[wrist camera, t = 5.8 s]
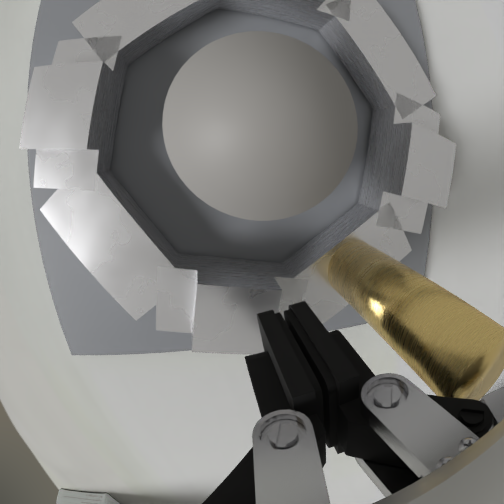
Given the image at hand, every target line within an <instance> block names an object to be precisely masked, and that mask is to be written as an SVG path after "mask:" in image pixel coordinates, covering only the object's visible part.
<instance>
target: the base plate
mask: <svg viewBox="0 0 504 504" xmlns="http://www.w3.org/2000/svg"><path fill="white" fill-rule="evenodd" d="M99 1H100V0H41V3H40V8H39V12H38V17H37V22H36V27H35V33H34V39H33V45H32V52H31V61H30V70H29V82H28V91H29V87H30V82H31V78H32V74H33V70H34V67H38V66H46V65H52V62H53V58H54V55H55V51H56V48H57V45H58V42H59V41H62V40H70V39H80V38H84V37H83V36H82V35H81V33H80V32H79V31H78V30H77V28H76V27H75V26H74V24H73V23H72V22H73V21H74V20H75V19H76V18H78V17H79V16H80V15H82V14H83V13H84V12H85V11H87V10H88V9H89V8H91V7H92V6H94V5H95V4H96V3H98V2H99ZM377 2H378V3H379V4H380V5H381V7H382V8H383V9H384V11H385V12H386V13H387V15H388V16H389V18H390V19H391V20H392V22H393V23H394V25H395V26H396V27H397V29H398V30H399V32H400V33H401V35H402V36H403V38H404V39H405V41H406V43H407V44H408V46H409V47H410V49H411V51H412V52H413V54H414V55H415V57H416V59H417V61H418V62H419V64H420V66H421V67H422V69H423V71H424V73H425V75H426V76H427V78H428V80H429V82H430V79H429V71H428V63H427V57H426V50H425V44H424V39H423V34H422V29H421V24H420V19H419V15H418V10H417V6H416V2H415V0H377ZM424 106H426V107H428V108H430V109H432V99H431V100H430V101H428V102H427V103H425V104H424ZM372 114H373V110H372V108H371V106H370V105H369V103H368V101H367V100H366V98H365V96H364V95H363V93H362V92H361V90H360V88H359V87H358V85H357V84H356V82H355V81H354V79H353V78H352V76H351V75H350V73H349V72H348V70H347V69H346V67H345V66H344V64H343V63H342V62H341V60H340V59H339V57H338V56H337V55H336V53H335V52H334V50H333V49H332V48H331V46H330V45H329V44H328V42H327V41H326V40H325V38H324V37H323V36H322V34H321V33H320V32H319V31H318V30H315V29H311V28H308V27H305V26H301V25H298V24H294V23H290V22H286V21H282V20H278V19H274V18H269V17H265V16H260V15H255V14H250V13H245V12H239V11H233V10H226V9H219V8H218V9H216V10H214V11H212V12H211V13H209V14H207V15H205V16H203V17H201V18H199V19H198V20H196V21H194V22H192V23H191V24H189V25H187V26H186V27H184V28H182V29H181V30H179V31H177V32H176V33H174V34H172V35H171V36H169V37H168V38H166V39H165V40H163V41H162V42H160V43H159V44H157V45H156V46H154V47H153V48H151V49H150V50H148V51H147V52H146V53H144V54H143V55H141V56H140V57H139V58H137V59H136V60H134V61H133V62H132V63H130V64H129V65H128V68H127V73H126V77H125V82H124V86H123V91H122V96H121V101H120V107H119V112H118V118H117V124H116V131H115V137H114V145H113V152H112V161H111V170H110V171H111V172H112V173H113V174H114V176H115V177H116V178H117V180H118V181H119V182H120V183H121V185H122V186H123V187H124V188H125V190H126V191H127V192H128V193H129V195H130V196H131V197H132V198H133V200H134V201H135V202H136V203H137V205H138V206H139V207H140V208H141V210H142V211H143V212H144V213H145V214H146V216H147V217H148V218H149V219H150V221H151V222H152V223H153V224H154V225H155V227H156V228H157V229H158V230H159V231H160V233H161V234H162V235H163V236H164V237H165V238H166V240H167V241H168V242H169V243H170V244H171V246H172V247H173V248H174V249H175V250H176V251H177V253H181V254H192V255H202V256H212V257H223V258H233V259H244V260H255V261H266V262H276V263H282V262H283V261H284V260H286V259H287V258H288V257H290V256H291V255H292V254H294V253H295V252H296V251H298V250H299V249H300V248H301V247H303V246H304V245H305V244H307V243H308V242H309V241H311V240H312V239H313V238H314V237H316V236H317V235H318V234H320V233H321V232H322V231H323V230H325V229H326V228H327V227H329V226H330V225H331V224H332V223H334V222H335V221H336V220H338V219H339V218H340V217H341V216H343V215H344V214H345V213H347V212H348V211H349V210H350V209H352V208H353V207H354V206H355V205H357V204H358V202H359V196H360V191H361V186H362V180H363V175H364V169H365V163H366V157H367V150H368V144H369V137H370V129H371V122H372ZM35 158H36V149H28V166H29V178H30V188H31V197H32V204H33V211H34V218H35V224H36V230H37V235H38V241H39V246H40V250H41V255H42V260H43V264H44V268H45V272H46V276H47V280H48V284H49V288H50V291H51V295H52V298H53V302H54V305H55V308H56V311H57V315H58V318H59V321H60V324H61V327H62V330H63V332H64V335H65V338H66V341H67V343H68V346H69V349H70V351H71V354H72V355H120V354H144V353H161V352H175V351H188V350H192V333H181V332H170V331H159V330H156V305H155V306H154V307H153V308H152V309H150V310H149V311H148V312H147V313H145V314H144V315H143V316H141V317H140V318H139V319H138V320H135V319H134V318H133V317H132V316H131V315H130V314H129V313H128V312H127V311H126V310H125V309H124V308H123V307H122V306H121V305H120V304H119V303H118V302H117V301H116V300H115V299H114V298H113V297H112V296H111V295H110V294H109V293H108V292H107V290H106V289H105V288H104V287H103V286H102V285H101V284H100V283H99V282H98V281H97V279H96V278H95V277H94V276H93V275H92V274H91V273H90V272H89V270H88V269H87V268H86V267H85V266H84V265H83V264H82V262H81V261H80V260H79V259H78V258H77V256H76V255H75V254H74V253H73V252H72V250H71V249H70V248H69V247H68V246H67V244H66V243H65V242H64V241H63V239H62V238H61V237H60V236H59V234H58V233H57V232H56V230H55V229H54V228H53V227H52V225H51V224H50V223H49V221H48V220H47V219H46V217H45V216H44V215H43V213H42V212H41V211H40V209H41V208H42V206H43V205H44V204H45V203H46V202H47V201H48V199H49V198H50V197H51V196H52V195H53V194H54V193H55V191H56V190H57V189H52V188H33V187H34V170H35ZM431 216H432V204H428V205H427V210H426V215H425V219H424V224H423V228H422V232H421V234H418V233H413V232H408V231H404V233H405V235H406V238H407V240H408V242H409V245H410V247H411V250H412V251H411V252H409V253H408V254H407V255H406V256H405V257H404V258H403V259H402V260H401V261H399V262H401V263H402V264H404V265H406V266H408V267H409V268H411V269H413V270H414V271H416V272H418V273H419V274H421V275H423V276H424V273H425V267H426V260H427V253H428V245H429V236H430V227H431ZM366 323H367V322H366V321H365V320H364V319H363V318H362V317H361V316H360V314H359V313H358V312H357V311H356V310H355V309H354V308H353V307H352V306H351V305H350V304H348V305H347V306H346V307H344V308H343V309H342V310H341V311H339V312H338V313H337V314H335V315H334V316H333V317H332V318H330V319H329V320H328V321H326V322H325V323H324V324H323V325H324V327H325V328H326V330H327V331H332V330H337V329H342V328H347V327H352V326H356V325H361V324H366Z"/></svg>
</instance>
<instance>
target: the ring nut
mask: <svg viewBox="0 0 504 504" xmlns="http://www.w3.org/2000/svg"><path fill="white" fill-rule="evenodd" d="M218 8H219V9H226V10H233V11H239V12H245V13H250V14H255V15H260V16H265V17H269V18H274V19H278V20H282V21H286V22H290V23H294V24H298V25H301V26H305V27H308V28H311V29H315V30H318V31H319V32H320V33H321V34H322V36H323V37H324V38H325V40H326V41H327V42H328V44H329V45H330V46H331V48H332V49H333V50H334V52H335V53H336V55H337V56H338V57H339V59H340V60H341V62H342V63H343V64H344V66H345V67H346V69H347V70H348V72H349V73H350V75H351V76H352V78H353V79H354V81H355V82H356V84H357V85H358V87H359V88H360V90H361V92H362V93H363V95H364V96H365V98H366V100H367V101H368V103H369V105H370V106H371V108H372V110H373V114H372V122H371V129H370V137H369V144H368V150H367V157H366V163H365V169H364V175H363V180H362V186H361V191H360V196H359V202H358V204H357V205H355V206H354V207H353V208H352V209H350V210H349V211H348V212H347V213H345V214H344V215H343V216H341V217H340V218H339V219H338V220H336V221H335V222H334V223H332V224H331V225H330V226H329V227H327V228H326V229H325V230H323V231H322V232H321V233H320V234H318V235H317V236H316V237H314V238H313V239H312V240H311V241H309V242H308V243H307V244H305V245H304V246H303V247H301V248H300V249H299V250H298V251H296V252H295V253H294V254H292V255H291V256H290V257H288V258H287V259H286V260H284V261H283V262H282V263H276V262H266V261H255V260H244V259H233V258H223V257H212V256H202V255H192V254H181V253H177V251H176V250H175V249H174V248H173V247H172V246H171V244H170V243H169V242H168V241H167V240H166V238H165V237H164V236H163V235H162V234H161V233H160V231H159V230H158V229H157V228H156V227H155V225H154V224H153V223H152V222H151V221H150V219H149V218H148V217H147V216H146V214H145V213H144V212H143V211H142V210H141V208H140V207H139V206H138V205H137V203H136V202H135V201H134V200H133V198H132V197H131V196H130V195H129V193H128V192H127V191H126V190H125V188H124V187H123V186H122V185H121V183H120V182H119V181H118V180H117V178H116V177H115V176H114V174H113V173H112V172H111V171H110V170H111V161H112V152H113V145H114V137H115V131H116V124H117V118H118V112H119V107H120V101H121V96H122V91H123V86H124V82H125V77H126V73H127V68H128V65H129V64H130V63H132V62H133V61H134V60H136V59H137V58H139V57H140V56H141V55H143V54H144V53H146V52H147V51H148V50H150V49H151V48H153V47H154V46H156V45H157V44H159V43H160V42H162V41H163V40H165V39H166V38H168V37H169V36H171V35H172V34H174V33H176V32H177V31H179V30H181V29H182V28H184V27H186V26H187V25H189V24H191V23H192V22H194V21H196V20H198V19H199V18H201V17H203V16H205V15H207V14H209V13H211V12H212V11H214V10H216V9H218ZM72 23H73V24H74V26H75V27H76V28H77V30H78V31H79V32H80V33H81V35H82V36H83V37H84V38H80V39H70V40H62V41H59V42H58V45H57V48H56V51H55V55H54V58H53V62H52V65H46V66H38V67H34V70H33V74H32V78H31V82H30V87H29V91H28V96H27V101H26V107H25V112H24V118H23V125H22V132H21V140H20V149H36V158H35V170H34V187H33V188H52V189H57V190H56V191H55V193H54V194H53V195H52V196H51V197H50V198H49V199H48V201H47V202H46V203H45V204H44V205H43V206H42V208H41V209H40V211H41V212H42V213H43V215H44V216H45V217H46V219H47V220H48V221H49V223H50V224H51V225H52V227H53V228H54V229H55V230H56V232H57V233H58V234H59V236H60V237H61V238H62V239H63V241H64V242H65V243H66V244H67V246H68V247H69V248H70V249H71V250H72V252H73V253H74V254H75V255H76V256H77V258H78V259H79V260H80V261H81V262H82V264H83V265H84V266H85V267H86V268H87V269H88V270H89V272H90V273H91V274H92V275H93V276H94V277H95V278H96V279H97V281H98V282H99V283H100V284H101V285H102V286H103V287H104V288H105V289H106V290H107V292H108V293H109V294H110V295H111V296H112V297H113V298H114V299H115V300H116V301H117V302H118V303H119V304H120V305H121V306H122V307H123V308H124V309H125V310H126V311H127V312H128V313H129V314H130V315H131V316H132V317H133V318H134V319H135V320H138V319H139V318H140V317H141V316H143V315H144V314H145V313H147V312H148V311H149V310H150V309H152V308H153V307H154V306H155V305H156V330H159V331H170V332H181V333H192V352H205V353H225V354H257V353H261V352H264V348H263V343H262V338H261V334H260V329H259V324H258V320H257V313H261V312H265V311H269V310H273V311H274V313H278V312H280V313H281V314H282V316H283V318H284V311H285V310H289V309H288V306H289V305H291V304H295V303H298V302H302V301H305V302H306V303H307V304H308V305H309V307H310V308H311V309H312V311H313V312H314V313H315V315H316V316H317V317H318V319H319V320H320V321H321V323H322V324H324V323H325V322H326V321H328V320H329V319H330V318H332V317H333V316H334V315H335V314H337V313H338V312H339V311H341V310H342V309H343V308H344V307H346V306H347V305H348V304H350V305H351V306H352V307H353V308H354V309H355V310H356V311H357V312H358V313H359V314H360V316H361V317H362V318H363V319H364V320H365V321H366V322H367V323H368V324H369V325H370V326H371V327H372V328H373V329H374V330H375V331H376V332H377V333H378V334H379V335H380V336H381V337H382V338H383V339H384V340H385V341H386V342H387V343H388V344H389V345H390V346H391V347H392V348H393V349H394V350H395V351H396V352H397V354H398V355H399V356H400V357H401V358H402V359H403V360H404V361H405V362H406V363H407V364H408V365H409V366H410V367H411V368H412V369H413V370H414V371H415V372H416V374H417V375H418V376H419V377H420V378H421V379H422V380H423V381H424V382H425V383H426V384H427V385H428V386H429V387H430V388H431V390H432V391H433V392H434V393H435V394H436V395H437V396H443V397H452V398H463V399H474V400H479V399H481V398H482V397H483V396H484V395H485V394H486V392H487V391H488V390H489V389H490V388H491V387H492V385H493V384H494V383H495V382H496V380H497V379H498V377H499V376H500V374H501V373H502V371H503V369H504V327H502V326H501V325H499V324H498V323H496V322H495V321H493V320H492V319H491V318H489V317H488V316H486V315H485V314H483V313H482V312H480V311H479V310H477V309H475V308H474V307H472V306H471V305H469V304H468V303H466V302H465V301H463V300H462V299H460V298H458V297H457V296H455V295H454V294H452V293H450V292H449V291H447V290H446V289H444V288H442V287H441V286H439V285H438V284H436V283H434V282H433V281H431V280H429V279H428V278H426V277H424V276H423V275H421V274H419V273H418V272H416V271H414V270H413V269H411V268H409V267H408V266H406V265H404V264H402V263H401V262H399V261H401V260H402V259H403V258H404V257H405V256H406V255H407V254H408V253H409V252H411V251H412V250H411V247H410V245H409V242H408V240H407V238H406V235H405V233H404V231H408V232H413V233H418V234H421V232H422V228H423V224H424V219H425V215H426V210H427V205H428V204H432V205H435V206H439V207H442V208H447V203H448V198H449V193H450V187H451V181H452V175H453V168H454V161H455V153H456V144H457V143H455V142H453V141H451V140H449V139H447V138H445V137H443V136H441V135H439V123H440V113H438V112H436V111H434V110H432V109H430V108H428V107H426V106H424V104H425V103H427V102H428V101H430V100H431V99H432V98H434V97H435V96H436V94H435V92H434V90H433V88H432V86H431V84H430V82H429V80H428V78H427V76H426V75H425V73H424V71H423V69H422V67H421V66H420V64H419V62H418V61H417V59H416V57H415V55H414V54H413V52H412V51H411V49H410V47H409V46H408V44H407V43H406V41H405V39H404V38H403V36H402V35H401V33H400V32H399V30H398V29H397V27H396V26H395V25H394V23H393V22H392V20H391V19H390V18H389V16H388V15H387V13H386V12H385V11H384V9H383V8H382V7H381V5H380V4H379V3H378V2H377V0H100V1H99V2H98V3H96V4H95V5H94V6H92V7H91V8H89V9H88V10H87V11H85V12H84V13H83V14H82V15H80V16H79V17H78V18H76V19H75V20H74V21H73V22H72ZM284 320H285V319H284Z"/></svg>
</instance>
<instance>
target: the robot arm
mask: <svg viewBox="0 0 504 504" xmlns="http://www.w3.org/2000/svg"><path fill="white" fill-rule="evenodd" d="M288 309H289V310H285V311H284V318H283V316H282V314H281V313H280V312H278V313H274V311H273V310H269V311H265V312H261V313H257V320H258V324H259V329H260V334H261V338H262V343H263V348H264V352H261V353H257V354H253V355H250V356H246V357H245V360H246V364H247V367H248V371H249V375H250V378H251V382H252V386H253V389H254V393H255V396H256V400H257V403H258V406H259V410H260V413H261V417H262V418H261V419H260V420H259V421H258V422H257V423H256V425H255V427H254V429H253V435H252V438H253V447H252V448H251V450H250V451H249V452H248V453H247V454H246V456H245V457H244V458H243V459H242V460H241V462H240V463H239V464H238V465H237V466H236V467H235V469H234V470H233V471H232V472H231V473H230V474H229V475H228V476H227V478H226V479H225V480H224V481H223V482H222V483H221V484H220V485H219V486H218V487H217V489H216V490H215V491H214V492H213V493H212V494H211V495H210V496H209V497H208V498H207V499H206V500H205V501H204V502H203V503H202V504H330V500H329V495H328V491H327V486H326V482H325V477H324V473H323V466H324V465H325V463H326V445H327V446H328V448H330V447H333V446H334V447H335V449H336V451H337V453H338V454H339V453H342V452H345V454H346V455H348V456H352V457H355V459H356V461H357V463H358V464H359V466H360V467H361V468H362V469H363V471H364V472H365V473H366V474H367V476H368V477H369V478H370V479H371V480H372V482H373V483H374V484H375V485H376V486H377V488H378V489H379V490H380V491H381V492H382V494H383V495H384V496H385V497H386V498H384V499H381V500H379V501H377V502H375V503H373V504H504V387H502V388H500V389H498V390H496V391H493V392H491V393H489V394H487V395H485V396H483V397H482V398H481V400H480V401H478V400H474V399H463V398H452V397H443V396H434V395H426V394H425V393H424V392H423V391H422V390H420V389H419V388H418V387H417V386H415V385H414V384H413V383H412V382H411V381H409V380H408V379H407V378H405V377H403V376H401V375H398V374H391V373H386V374H380V375H377V376H375V375H374V374H373V372H372V371H371V370H370V369H369V367H368V366H367V365H366V364H365V362H364V361H363V360H362V359H361V357H360V356H359V355H358V354H357V352H356V351H355V350H354V349H353V347H352V346H351V345H350V343H349V342H348V341H347V340H346V338H345V337H344V336H343V335H342V334H341V332H340V331H338V330H335V331H332V332H328V331H327V330H326V328H325V327H324V325H323V324H322V323H321V321H320V320H319V319H318V317H317V316H316V315H315V313H314V312H313V311H312V309H311V308H310V307H309V305H308V304H307V303H306V302H305V301H302V302H298V303H295V304H291V305H289V306H288ZM284 319H285V320H284Z"/></svg>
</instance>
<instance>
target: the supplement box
mask: <svg viewBox="0 0 504 504" xmlns="http://www.w3.org/2000/svg"><path fill="white" fill-rule="evenodd" d="M56 504H120V503H118V502H117V501H116V500H115V499H113V498H112V497H111V496H110V495H109V494H107V493H102V494H98V493H85V492H76V491H69V490H64V489H60V490H59V493H58V498H57V502H56Z"/></svg>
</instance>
